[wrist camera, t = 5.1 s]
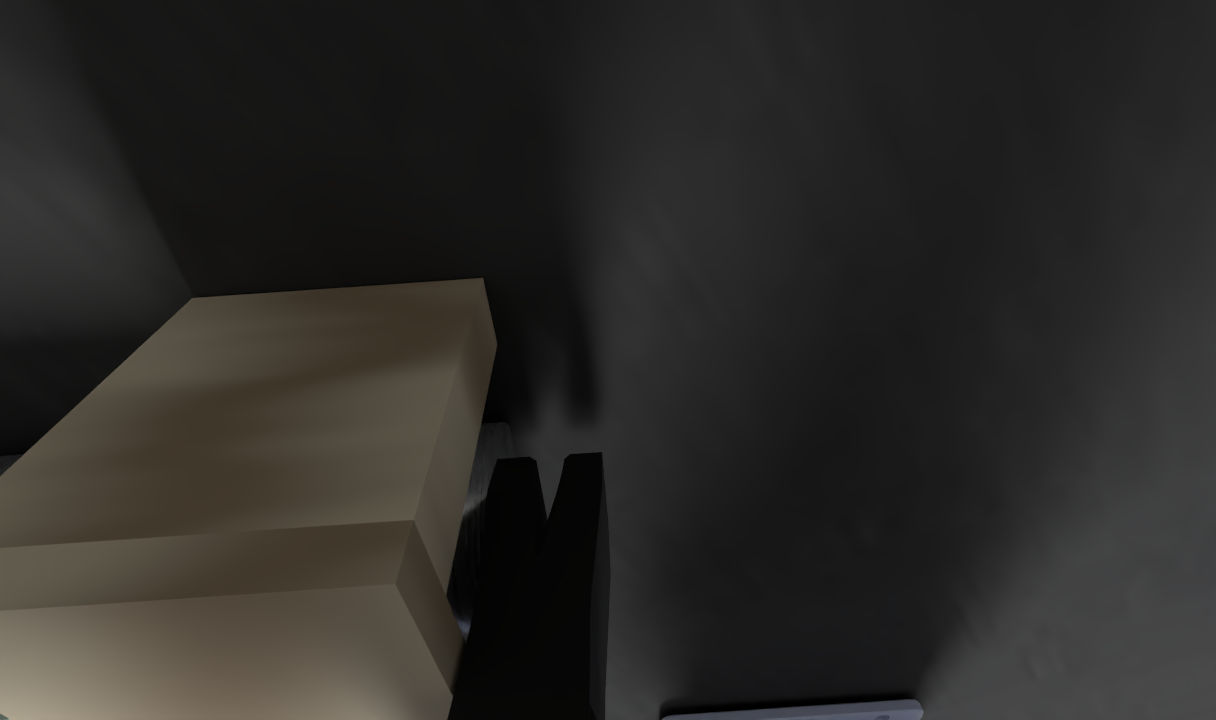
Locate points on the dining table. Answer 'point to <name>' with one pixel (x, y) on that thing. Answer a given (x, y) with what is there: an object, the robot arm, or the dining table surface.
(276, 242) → the dining table surface
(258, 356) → the wooden bridge block
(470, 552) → the axle
